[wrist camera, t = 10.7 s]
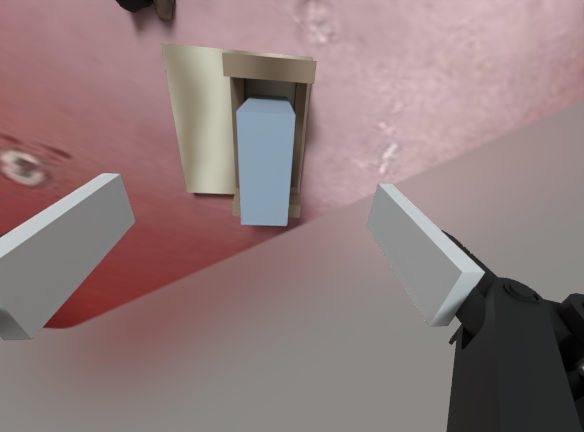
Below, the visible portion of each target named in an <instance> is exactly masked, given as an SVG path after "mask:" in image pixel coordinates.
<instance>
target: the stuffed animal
mask: <svg viewBox="0 0 584 432" xmlns="http://www.w3.org/2000/svg"><path fill="white" fill-rule="evenodd" d="M116 1H117V2H118V4H119V5H120V6H121V7H122V8H124V9H126V10H128V11H130V12H137V11H138V10H140V9H141V8H143V7H149V6H151V5H152V4H153V0H116ZM174 2H175V0H154V5H155V9H156V12H157V14H158V16H159V17H160V19H163V20H168V21H169V20H172V16H173V5H174Z"/></svg>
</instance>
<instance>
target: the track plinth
mask: <svg viewBox="0 0 584 432" xmlns="http://www.w3.org/2000/svg"><path fill="white" fill-rule="evenodd" d="M161 46H162V52H163V58H164V63H165V69H166V75H167V81H168V86H169V92H170V98H171V104H172V109H173V115H174V121H175V127H176V132H177V138H178V144H179V150H180V155H181V161H182V167H183V173H184V178H185V184H186V190H187V192H190V193H216V194H235V195H234V198H233V201H232V211H233V216H241V207H240V185H239V162H238V140H237V117H236V111H237V110H238V109H239V108H240V107H241V106H242V105H243V104H244V103H245V101H246V100H247V99H248V98H249V97H250V96H251V95H252V94H259V95H272V96H285V97H287V98H288V100H289V102H290V105H291V107H292V109H293V111H294V113H295V115H296V116H295V131H294V144H293V157H292V170H291V183H290V196H289V208H288V218H300V211H301V203H300V198H299V192H300V182H301V172H302V162H303V152H304V142H305V132H306V122H307V112H308V102H309V92H310V84H314V81H315V71H316V62H317V61H313V58H312V57H302V56H291V55H280V54H269V53H259V52H248V51H237V50H227V49H216V48H205V47H195V46H184V45H173V44H163V43H161Z"/></svg>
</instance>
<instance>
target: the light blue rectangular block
mask: <svg viewBox="0 0 584 432" xmlns="http://www.w3.org/2000/svg"><path fill="white" fill-rule="evenodd" d="M295 116H296V115H295V113H294V111H293V109H292V107H291V105H290V102H289V100H288V98H287V97H285V96H272V95H259V94H252V95H251V96H250V97H249V98H248V99H247V100H246V101H245V103H244V104H243V105H242V106H241V107H240V108H239V109H238V110H237V111H236V117H237V140H238V162H239V185H240V207H241V225H271V226H287V220H288V208H289V196H290V183H291V170H292V157H293V144H294V131H295Z"/></svg>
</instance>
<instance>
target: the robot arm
mask: <svg viewBox="0 0 584 432" xmlns="http://www.w3.org/2000/svg"><path fill="white" fill-rule="evenodd" d="M134 223H135V218H134V215H133V212H132V209H131V206H130V203H129V200H128V197H127V194H126V191H125V188H124V185H123V182H122V178H121V175H120V174H110V173H103V174H101V175H99V176H98V177H96V178H95V179H93V180H91V181H90V182H88V183H87V184H85V185H83V186H82V187H80V188H79V189H77V190H75V191H74V192H72V193H71V194H69V195H67V196H66V197H64V198H63V199H61V200H59V201H58V202H56V203H55V204H53V205H52V206H50V207H48V208H47V209H45V210H44V211H42V212H40V213H39V214H37V215H36V216H34V217H32V218H31V219H29V220H28V221H26V222H24V223H23V224H21V225H20V226H18V227H16V228H15V229H13V230H11V231H9V232H6V233H4V234H3V235H1V236H0V337H1V338H2V339H3V340H25V339H33V338H34V337H35V335H36V334H37V333H38V332H39V331H40V330H41V328H42V327H43V326H44V325H45V324H46V323H47V322H48V321H49V319H50V318H51V317H52V316H53V315H54V314H55V313H56V311H57V310H58V309H59V308H60V307H61V306H62V305H63V303H64V302H65V301H66V300H67V299H68V298H69V297H70V296H71V294H72V293H73V292H74V291H75V290H76V289H77V288H78V286H79V285H80V284H81V283H82V282H83V281H84V280H85V278H86V277H87V276H88V275H89V274H90V273H91V272H92V270H93V269H94V268H95V267H96V266H97V265H98V264H99V262H100V261H101V260H102V259H103V258H104V257H105V256H106V254H107V253H108V252H109V251H110V250H111V249H112V248H113V247H114V245H115V244H116V243H117V242H118V241H119V240H120V239H121V237H122V236H123V235H124V234H125V233H126V232H127V231H128V229H129V228H130V227H131V226H132V225H133V224H134ZM366 226H367V228H368V229H369V231H370V232H371V234H372V235H373V237H374V239H375V240H376V242H377V244H378V245H379V247H380V249H381V250H382V252H383V253H384V255H385V257H386V258H387V260H388V262H389V263H390V265H391V266H392V268H393V270H394V271H395V273H396V274H397V276H398V278H399V279H400V281H401V283H402V284H403V286H404V288H405V289H406V291H407V292H408V294H409V296H410V297H411V299H412V300H413V302H414V304H415V305H416V307H417V308H418V310H419V312H420V313H421V315H422V317H423V318H424V320H425V322H426V323H427V325H428V326H429V327H432V326H448V325H449V324H450V322H451V321H452V319H453V318H454V316H455V315H456V317H457V318H458V319H459V321H460V322H461V323H462V324H461V325H460V327H459V328H458V329H457V331H456V332H455V334H454V335H453V336H452V338H451V339H450V341H449V343H450V344H451V345H452V344H453V342H454V341H456V349H455V359H454V368H453V377H452V387H451V396H450V405H449V414H448V424H447V432H584V370H583V369H582V367H583V366H584V295H583V294H577V293H575V294H570V295H569V296H568V297H567V298H566V299H565V300H564V301H563V302H562V303H558V302H553V301H549V300H545V299H543V298H542V297H541V296H540V295H538V294H537V293H536V292H535V291H534V290H532V289H531V288H529V287H528V286H526V285H524V284H522V283H520V282H518V281H515V280H511V279H508V278H498V277H497V276H496V275H495V274H494V273H493V272H492V271H490V270H489V269H488V268H487V267H486V266H485V265H484V264H483V263H482V262H481V261H479V260H478V259H477V258H476V257H475V256H474V255H473V254H470V251H469V250H467V249H466V248H465V247H463V245H462V244H461V243H460V242H459V241H458V240H457V239H455V238H454V237H453V236H451V235H449V234H448V233H446V232H444V231H443V230H440V229H439V228H438V227H437V226H436V225H434V224H433V223H432V222H431V221H430V220H429V219H428V218H427V217H426V216H425V215H424V214H423V213H422V212H421V211H420V210H419V209H417V208H416V207H415V206H414V205H413V204H412V203H411V202H410V201H409V200H408V199H407V198H406V197H405V196H404V195H402V193H401V192H400V191H398V190H397V189H396V188H395V187H394V186H393V185H392V184H378V186H377V190H376V193H375V197H374V200H373V204H372V207H371V210H370V214H369V217H368V221H367V225H366Z"/></svg>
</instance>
